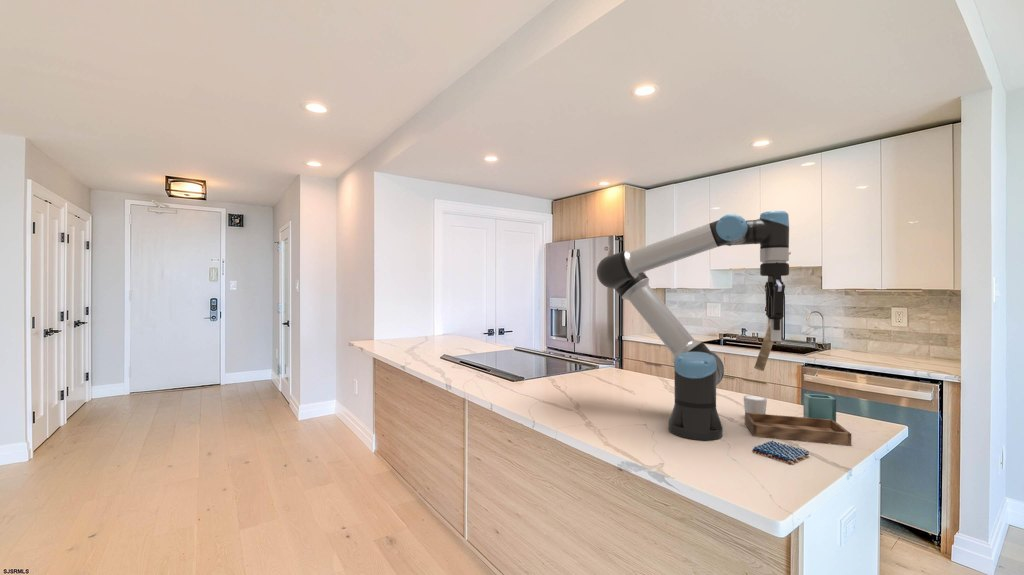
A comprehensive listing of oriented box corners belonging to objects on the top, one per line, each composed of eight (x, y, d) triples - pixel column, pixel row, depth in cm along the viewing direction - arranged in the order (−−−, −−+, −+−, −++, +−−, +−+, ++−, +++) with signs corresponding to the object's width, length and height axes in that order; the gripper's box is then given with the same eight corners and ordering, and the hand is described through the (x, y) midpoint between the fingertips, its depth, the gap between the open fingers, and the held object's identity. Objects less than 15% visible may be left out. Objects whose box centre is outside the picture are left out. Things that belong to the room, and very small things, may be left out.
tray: (753, 436, 129) (753, 425, 129) (745, 422, 142) (745, 412, 142) (851, 445, 121) (851, 433, 121) (832, 430, 134) (832, 419, 134)
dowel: (755, 370, 134) (757, 311, 133) (753, 369, 136) (755, 311, 136) (782, 373, 131) (784, 312, 131) (779, 371, 134) (781, 312, 134)
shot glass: (765, 417, 148) (765, 396, 148) (768, 422, 142) (768, 401, 142) (742, 414, 151) (742, 394, 151) (744, 420, 145) (744, 398, 145)
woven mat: (812, 458, 113) (812, 450, 113) (792, 467, 108) (792, 459, 108) (770, 446, 122) (770, 439, 122) (750, 454, 117) (750, 446, 117)
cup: (809, 426, 138) (809, 397, 138) (803, 421, 143) (803, 393, 143) (836, 428, 136) (836, 399, 136) (829, 423, 141) (829, 395, 141)
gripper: (796, 261, 124) (796, 344, 124) (781, 263, 139) (781, 338, 139) (766, 261, 127) (766, 343, 127) (755, 264, 142) (755, 337, 142)
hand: (774, 340), depth 133 cm, fingers closed on dowel, 2 cm apart
